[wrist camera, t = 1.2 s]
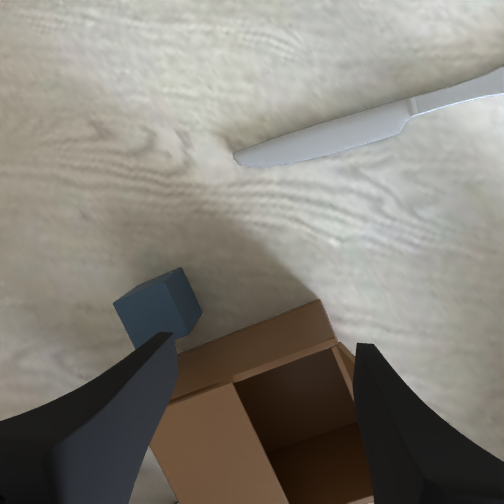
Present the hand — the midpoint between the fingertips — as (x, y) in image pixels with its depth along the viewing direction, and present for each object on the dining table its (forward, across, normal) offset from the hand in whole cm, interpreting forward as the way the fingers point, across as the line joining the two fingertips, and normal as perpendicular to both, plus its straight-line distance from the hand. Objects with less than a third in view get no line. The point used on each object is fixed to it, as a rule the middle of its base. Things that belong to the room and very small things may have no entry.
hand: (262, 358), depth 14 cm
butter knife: (+17, -8, -8) cm, 21 cm away
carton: (+12, +1, +12) cm, 17 cm away
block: (+13, +9, +5) cm, 17 cm away
